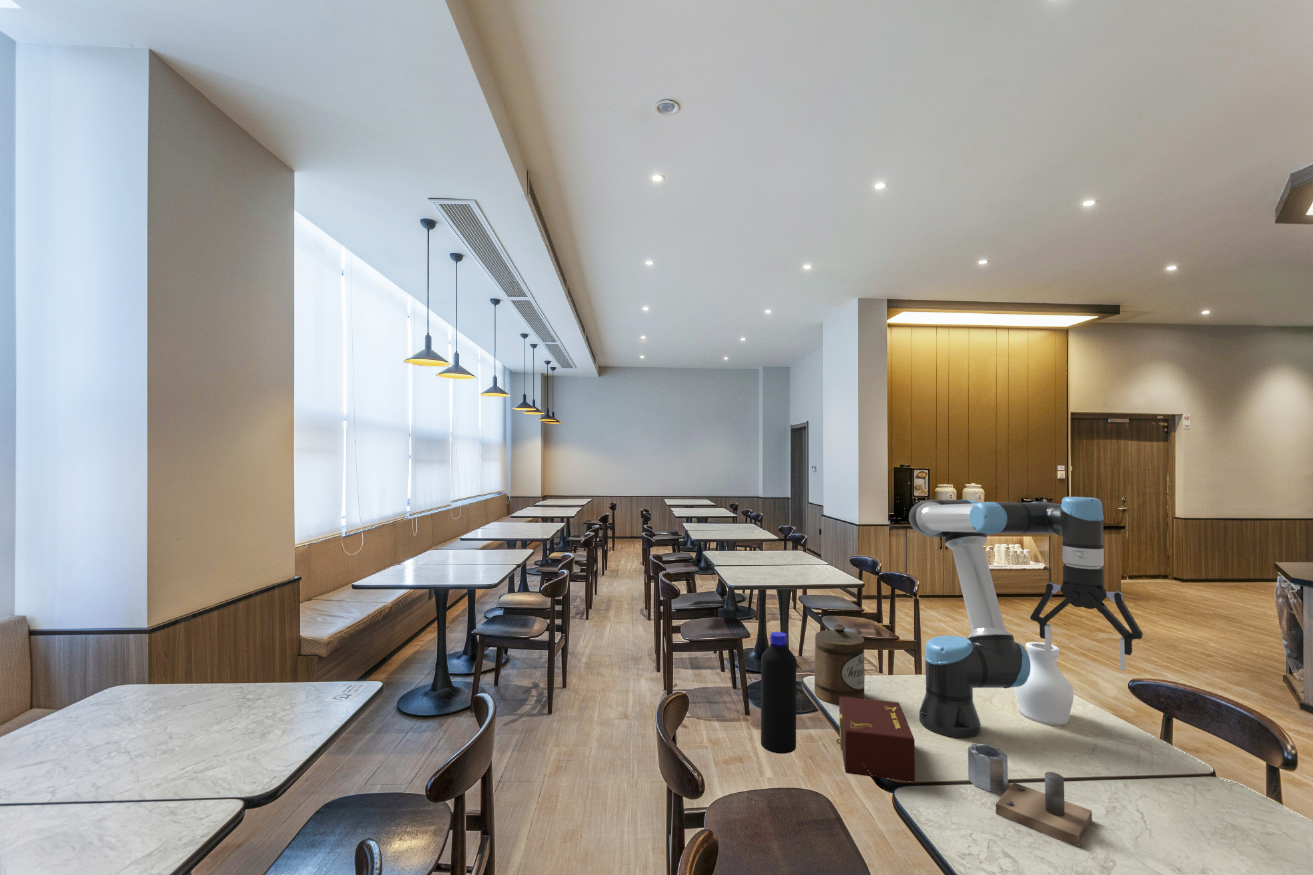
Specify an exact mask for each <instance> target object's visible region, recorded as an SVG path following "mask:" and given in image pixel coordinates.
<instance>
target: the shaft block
mask: <svg viewBox="0 0 1313 875" xmlns="http://www.w3.org/2000/svg"><path fill="white" fill-rule="evenodd" d="M995 814H996V815H998V816H1001V817H1004V818H1005V819H1009V820H1011V821H1013V822H1015V823H1017V824H1021V825H1022V826H1025V827H1028V828H1030V829H1033V830H1035V831H1038V832H1040V833H1043V834H1045V835H1047V836H1050V837H1053V838H1055V839H1057V840H1060V841H1062V842H1064V843H1067V844H1070V845H1072V846H1075V847H1077V848H1079V847H1080V845H1081V843H1082V841H1083V839H1084V837H1085V835H1086V833H1087V831H1088V829H1089V827H1090V826H1091V824H1092V822H1093V810H1091V809H1089V808H1085V807H1083V806H1080V805H1077V804H1075V803H1073V802H1072V803H1071V802H1068V801H1067V800H1065V778H1064V776H1062V775H1061V774H1059V773H1056V772H1053V771H1046V772H1045V773H1044V792H1041V791H1039V790H1036V789H1033V788H1030V787H1028V786H1025V785H1023V784H1019V783H1017V782H1012V783H1011V785H1010V786H1008V788H1007V789H1006V790H1005V791H1004V792H1003V794H1002V796H1001V797H999V799H998V800H997V801H996V803H995Z"/></svg>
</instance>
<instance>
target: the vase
mask: <svg viewBox="0 0 1313 875" xmlns="http://www.w3.org/2000/svg"><path fill="white" fill-rule="evenodd" d="M1051 648H1052V653H1051V654H1050V655H1046V654H1045V642H1040V641H1028V642H1026V643H1025V650H1026V651H1027V653H1028V655H1029V658H1030V665H1031V669H1030V675H1029V677H1028V680H1027V681H1026V683H1025V684H1024V685H1022V686H1020V687H1013V688H1014V694H1015V697H1016V700H1017V704H1018V712H1019V714H1020V715H1021V716H1022V717H1024V718H1026V719H1029V720H1030V721H1033V722H1035V723H1040V724H1042V725H1049V726H1066V725H1068V724H1069V722H1070V714H1071V710H1072V707H1073V703H1074V696H1075V695H1074V694H1075V693H1074V690H1073V686H1072V684H1071V683H1070V681H1069V680H1068V679H1067V678H1066V677H1065V676H1064V674H1063V673H1062V671H1061V670H1060V668H1059V667H1058V663H1057V661H1058V658H1059V655H1060V648H1059V647H1058V646H1056V645H1053V644H1051Z"/></svg>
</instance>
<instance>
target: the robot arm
mask: <svg viewBox="0 0 1313 875" xmlns="http://www.w3.org/2000/svg"><path fill="white" fill-rule="evenodd" d="M1061 499H1062V500H1061V503H1057V502H1056V503H1055V502H1049V501H1031V502H1007V501H1006V502H1002V501H1001V502H1000V501H998V502H997V501H984V502H983V501H982V502H980V501H978V500H973V499H972V500H970V499H966V498H965V499H962V498H961V499H925V500H922V501H919V502H918V503H916V504H915V505H913V506H912V507H911V509H910V511H909V513H908V522H909V523H910V527H911V528H912V529H913V530H914V531H916V533H918V534H920V535H922V536H924V537H929V538H942V539H943V540H944V544H945V547H947V548H949V549H950V550H951V551H952V555H953V559H954V564H955V567H956V571H957V576H958V580H959V581H958V582H959V585H960V589H961V593H962V596H963V600H964V605H965V610H966V615H967V617H968V622H969V627H970V633H969V634H968V635H967V638H965V637H962V636H960V635H959V636H958V635H955V636H953V635H939V636H935V637H932V638H931V639H929V640H928V641H927V642H926V644H925V654H924V659H925V662H924V663H925V694H924V697H923V700H922V704H921V706H920V708H919V711H918V714H919V715H918V716H919V717H918V718H919V722H920V724H921V725H922V726H923V727H925V728H926V729H928V730H930V731H932V732H934V733H936V734H938V735H939V734H940V735H944V736H947V737H952V738H958V739H959V738H962V739H966V738H968V739H970V738H973V737H977V736H978V735H980V734H981V732H982V731H981V730H982V728H981V721H980V717H979V715H978V712H977V710H976V706H975V703H974V698H973V697H974V692H973V690H974V689H976V688H977V689H978V688H979V689H985V688H986V689H987V688H989V689H991V688H992V689H997V688H999V689H1000V688H1001V689H1002V688H1003V689H1010V688H1014V687H1020V686H1022V685H1024V684H1025V683H1026V681H1027V680H1028V677H1029V675H1030V669H1031V665H1030V658H1029V655H1028V652H1027V650H1026V648H1025V647H1024V645H1022V644H1021V643H1019V642H1016V641H1015V637H1014V634H1013V633H1011V632H1010V631H1009V630H1007V629H1006V626H1005V623H1004V620H1003V616H1002V611H1001V609H1000V604H999V601H998V597H997V596H998V595H997V594H996V589H995V586H994V581H993V577H992V575H991V570H990V566H989V562H988V559H987V555H986V552H985V548H984V547H985V544H986V543H987V542H988V537H989V536H990V535H997V534H999V535H1000V534H1019V535H1020V534H1024V535H1025V534H1027V535H1028V534H1032V535H1033V534H1037V535H1040V534H1041V535H1042V534H1043V535H1047V534H1048V535H1054V536H1055V535H1056V536H1061V537H1062V542H1061V543H1062V544H1061V545H1062V550H1061V551H1062V554H1061V555H1062V562H1063V563H1064V564H1063V566H1062V584H1061V585H1060V584H1056V583H1054V582H1052V581H1049V582H1048V583H1047V584H1046V585H1045V593H1044V594H1043V595H1042V597H1041V598H1040V601H1039V602H1038V604H1037V605H1036V607H1035V609H1034V610H1033V612H1032V613H1031V615H1030V616H1029V619H1030V620H1031V621H1034V622H1036V623H1038V625H1039V637H1040V639H1043V640H1044V643H1045V654H1046V655H1050V654H1051V653H1052V648H1051V645H1052V624H1051V623H1048V622H1049V621H1051V619H1053V618H1055V616H1057V615H1058V614H1059V613H1061V611H1062V610H1064V609H1066V607H1067V606H1068V605H1069V604H1070V605H1072V606H1074V608H1084V609H1088V610H1093V609H1096V610H1097V611H1098V612H1099V613H1100V614H1101V615H1102V616H1103V617H1104V618H1105V619H1106V620H1107V621H1108V623H1110V624H1111V626H1112V627H1113V628H1114V629H1115V630H1116V631H1117V632H1118V633H1119V635H1120V636H1121V637H1119V670H1120V671H1122V672H1123V671H1124V672H1125V671H1126V669H1127V656H1131V655H1132V653H1133V640H1141V639H1142V638H1143V636H1144V633H1143V632H1142V630H1141V628H1140V627H1139V625H1138V623H1137V621H1136V620H1135V618H1134V616H1133V614H1132V613H1131V611H1130V609H1129V608H1128V606H1127V605H1126V603H1125V601H1124V594H1123V592H1122V591H1120V590H1117V591H1107V590H1106V589H1105V570H1104V569H1103V568H1102V567H1103V566H1104V565H1105V558H1104V557H1105V554H1104V552H1105V551H1104V550H1105V548H1104V519H1105V517H1104V513H1103V512H1104V510H1103V502H1102V501H1101V500H1100V499H1099V498H1097V497H1084V496H1064V497H1063V498H1061ZM1058 591H1060V592H1061V594H1062V595H1063V596H1064V597H1065V598H1064V599H1063V600H1062V601H1061V602H1060V603H1058V604H1057V605H1056V606H1055V607H1054V608H1052V609H1051V610H1050V611H1049V612H1048V613H1047V614H1046V615H1044V616H1043V617H1042V616H1040V615H1041V614H1042V612H1043V611H1044V609H1045V608H1046V606H1047V604H1048V603H1049V601H1050V600H1051V599H1052V597H1053V595H1054V594H1057V592H1058ZM1106 598H1109V599H1110V601H1111V602H1112V603H1115V605H1116V607H1117V609H1118V611H1119V613H1120V614H1121V616H1122V618H1123V620H1124V621H1125V623H1126V625H1127V626H1128V628H1129V629H1130V631H1129V630H1128V628H1127V627H1126V626H1125V625H1124V624H1123V623H1122V622H1121V621H1120V619H1118V618H1117V616H1116V615H1114V613H1112V611H1111V610H1110V609H1109V608H1108V606H1107V605H1106V604H1105V603H1104V600H1105V599H1106Z"/></svg>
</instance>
